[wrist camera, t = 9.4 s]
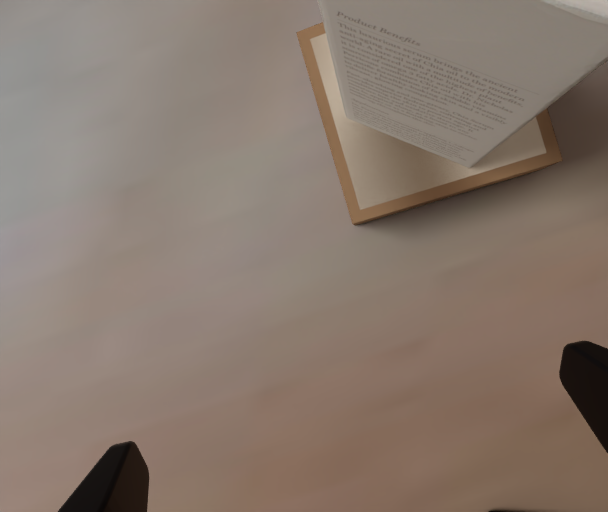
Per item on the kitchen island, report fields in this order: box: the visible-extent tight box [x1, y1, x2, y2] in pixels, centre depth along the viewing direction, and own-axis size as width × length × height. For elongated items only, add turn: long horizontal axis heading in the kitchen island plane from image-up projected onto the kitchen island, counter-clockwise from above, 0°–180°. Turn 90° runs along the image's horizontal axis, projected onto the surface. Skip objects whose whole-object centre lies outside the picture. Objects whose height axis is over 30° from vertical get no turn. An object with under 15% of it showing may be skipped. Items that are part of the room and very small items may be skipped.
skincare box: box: [318, 0, 608, 168], centre depth 12 cm, size 6×4×12 cm
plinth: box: [297, 22, 563, 225], centre depth 19 cm, size 9×9×2 cm
